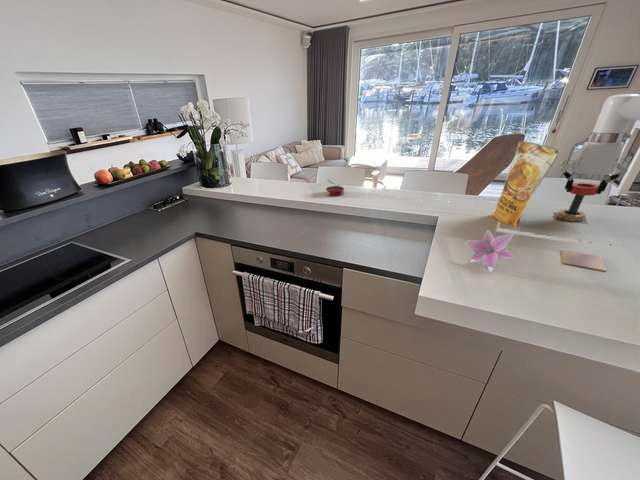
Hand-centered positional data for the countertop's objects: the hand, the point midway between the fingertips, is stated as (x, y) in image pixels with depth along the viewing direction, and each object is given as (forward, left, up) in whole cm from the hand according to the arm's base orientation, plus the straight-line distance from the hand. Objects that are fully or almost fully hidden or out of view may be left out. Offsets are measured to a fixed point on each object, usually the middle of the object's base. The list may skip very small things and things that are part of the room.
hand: (582, 191), depth 102 cm
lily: (+21, +48, -11) cm, 54 cm away
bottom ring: (0, 0, -10) cm, 10 cm away
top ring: (0, 0, 0) cm, 0 cm away
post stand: (0, 0, -11) cm, 11 cm away
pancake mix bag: (+18, +9, -11) cm, 23 cm away
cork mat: (-1, +34, -11) cm, 36 cm away
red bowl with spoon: (+97, +2, -11) cm, 98 cm away
